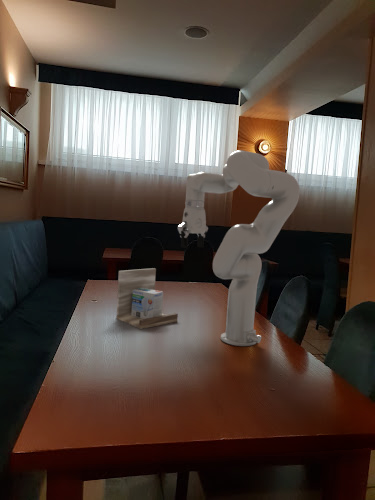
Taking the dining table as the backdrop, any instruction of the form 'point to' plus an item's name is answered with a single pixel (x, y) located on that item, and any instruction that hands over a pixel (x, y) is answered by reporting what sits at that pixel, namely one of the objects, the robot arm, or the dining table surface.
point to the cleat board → (126, 285)
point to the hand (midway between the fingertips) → (192, 247)
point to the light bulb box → (146, 303)
